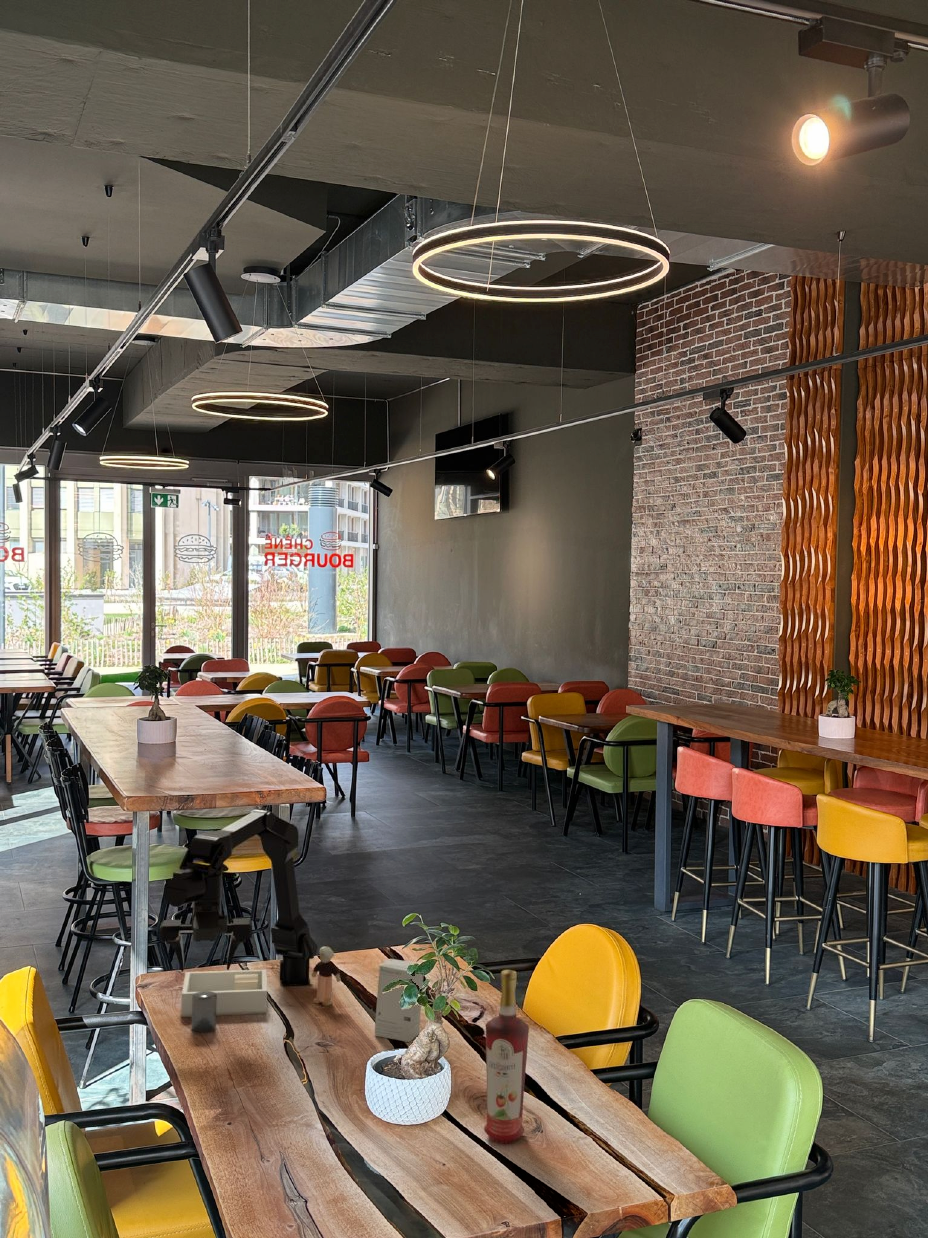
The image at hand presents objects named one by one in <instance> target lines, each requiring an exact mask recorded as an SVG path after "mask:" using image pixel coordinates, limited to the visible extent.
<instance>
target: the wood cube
mask: <svg viewBox="0 0 928 1238" xmlns="http://www.w3.org/2000/svg"><path fill="white" fill-rule="evenodd" d="M257 987H258V974H247V975H235V985H234V990H256V989H257Z"/></svg>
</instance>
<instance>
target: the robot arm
mask: <svg viewBox="0 0 928 1238" xmlns="http://www.w3.org/2000/svg"><path fill="white" fill-rule="evenodd" d="M298 829H299V828H298V827H297V825H295V824H294V823H290V822H288V821H287V820H285V819H283V818H280V817H278V816H277V815H276V814H275V813H274V812H272V811H271V810H263V809H259V808H258V809H253V810H252V809H251V811H250V812H249V813H248V814H247V815H245V816H243V817H241V818H240V819H237V820H236V821H233V822H232V823H231V824H228V825H227V826H225V827H224V828H221V829H219V830H213V831H206V832H203V833H199V834H196V835H195V836H194V837H192V839H191V842H190V844H189V845H188V848H187V850H186V852H185V854H184V856H183V859H182V861H181V863H180V865H179V867H178V868H179V869H178V870H180V871H178V870H177V871H174V872H173V873H172V878H170V879H169V880H168V881H167V883H166V884H165V887H164V888H163V889H164V890H163V891H164V899H166V901H167V903H168V904H169V905H171V906H172V907H174V908H178V907H182V906H184V905H187V904H190V903H192V904H193V905H192V916H191V924H182V923H181V921H182V920H181V919H167V920H166V919H165V920H163V921H162V922H161V923H160V926H159V936H158V937H159V938H158V939H159V941H162V942H165V944H166V945H170V946H171V947H172V949H173V950H174V952H175V955H176V958H177V961H178V964H179V967H180V970H181V972H185V958H184V957H185V955H184V946H183V945H184V944H183V935H192V938H193V939H192V940H193V941H194V942H196V943H197V942H202V941H203V942H205V941H206V942H207V941H209V942H215V941H217V940H218V935H223V934H230V939H229V940H230V941H229V947H228V953H227V960H226V971H230V967H231V965H232V962H233V959H234V956H235V953H236V951H237V950H238V947H239V945H240V944H241V943H245V942H246V939H251V938H253V921H252V919H251V918H250V917H247V918H242V917H241V918H233V922H232V923H228V915H227V914H226V915H224V914H222V891H223V887H222V886H223V873H225V872H227V871H229V867H228V865H226V864H225V861H227V860H228V859H229V858H230V857H231V856H232V855H233V850H234V849H235V848H237V847H239V846H240V845H242V844H243V843H245V842H246V841H249V840H250V839H252V838H254V837H255V836H257V837H258V838H259V840H260V842H261V847H262V851H263V853H265V855H266V856H267V858H268V859H269V860H270V861H271V868H272V876H273V885H274V893H275V901H276V909H277V919H276V922H275V923H274V926H272V927H271V928H270V933H271V944H273V946H274V952H275V955H276V956H282V958H281V959H280V960H279V974H278V975H279V978H278V979H279V981H281V986H304V985H306V986H308V985H311V983H310V982H311V981H310V964H311V963H310V960H313V959H315V957H316V956H317V952H318V947H319V946H318V944H317V943H316V941H315V940H314V939H313V938H312V936H311V932H310V930H309V929H310V928H309V925H308V923H307V921H306V920H305V919H304V917H303V916H302V915H301V914H300V907H299V906H300V905H299V897H298V888H297V881H296V872H295V871H296V870H295V865H294V864H295V863H294V856H295V854H296V852H297V850H298V849H299V830H298Z"/></svg>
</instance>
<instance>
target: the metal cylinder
mask: <svg viewBox="0 0 928 1238" xmlns="http://www.w3.org/2000/svg"><path fill="white" fill-rule="evenodd" d="M216 1004H217V994H216V993H215V992H211V991H202V992H197V993H195V994H193V995H192V1017H191V1027H190V1028H191V1029H190V1030H191V1032H193V1033H195V1034H209V1033H212V1032H214V1031H216V1029H217V1016H216Z"/></svg>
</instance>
